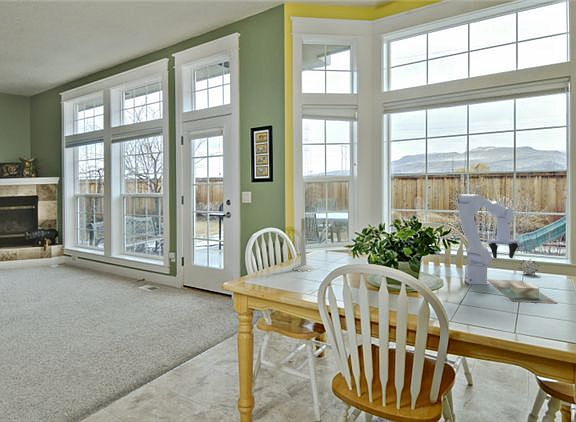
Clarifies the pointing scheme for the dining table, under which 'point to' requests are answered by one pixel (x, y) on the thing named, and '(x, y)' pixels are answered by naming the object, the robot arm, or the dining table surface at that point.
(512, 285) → the birch block
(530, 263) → the game die
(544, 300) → the shallow brown tray
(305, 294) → the dining table surface
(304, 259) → the candlestick
